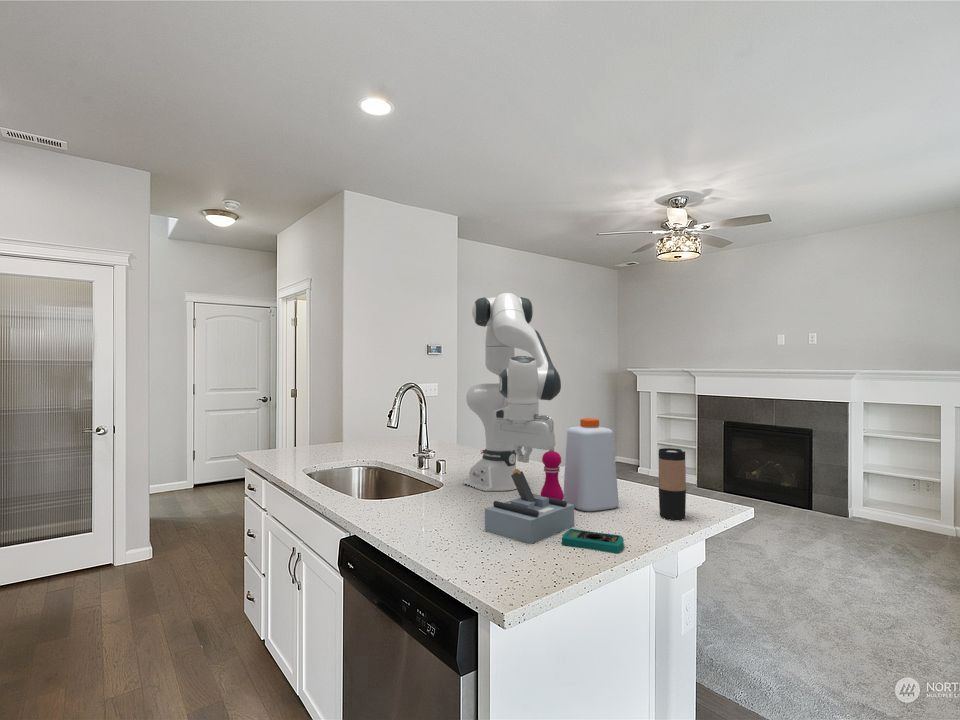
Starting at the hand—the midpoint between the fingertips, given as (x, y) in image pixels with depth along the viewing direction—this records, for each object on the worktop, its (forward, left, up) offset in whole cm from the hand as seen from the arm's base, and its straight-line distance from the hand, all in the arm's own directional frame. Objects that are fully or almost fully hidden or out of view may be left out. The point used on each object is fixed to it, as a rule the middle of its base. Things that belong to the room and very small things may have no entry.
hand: (523, 461), depth 142 cm
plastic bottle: (+3, +32, -18) cm, 37 cm away
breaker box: (+3, 0, -18) cm, 18 cm away
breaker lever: (+3, 0, -11) cm, 12 cm away
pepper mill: (-3, +19, -18) cm, 27 cm away
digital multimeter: (+22, 0, -19) cm, 29 cm away
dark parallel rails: (+3, 0, -12) cm, 12 cm away
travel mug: (+28, +37, -18) cm, 50 cm away
